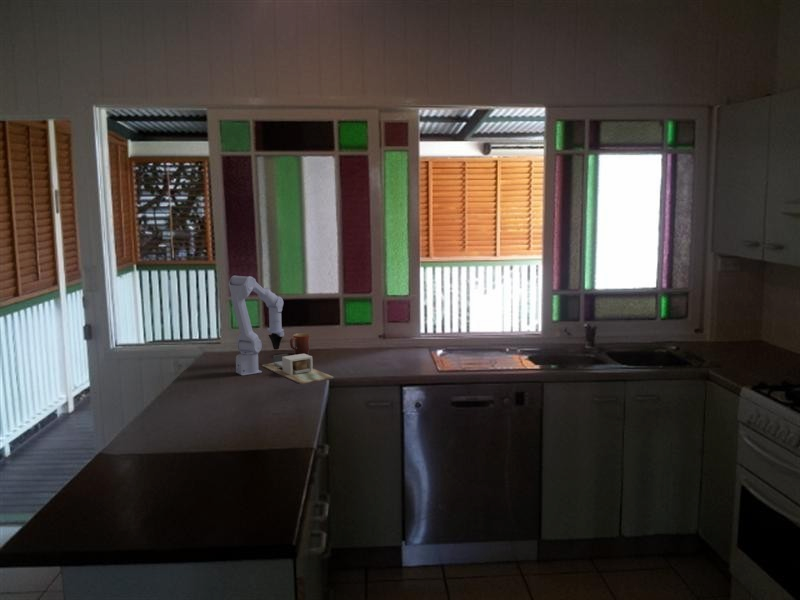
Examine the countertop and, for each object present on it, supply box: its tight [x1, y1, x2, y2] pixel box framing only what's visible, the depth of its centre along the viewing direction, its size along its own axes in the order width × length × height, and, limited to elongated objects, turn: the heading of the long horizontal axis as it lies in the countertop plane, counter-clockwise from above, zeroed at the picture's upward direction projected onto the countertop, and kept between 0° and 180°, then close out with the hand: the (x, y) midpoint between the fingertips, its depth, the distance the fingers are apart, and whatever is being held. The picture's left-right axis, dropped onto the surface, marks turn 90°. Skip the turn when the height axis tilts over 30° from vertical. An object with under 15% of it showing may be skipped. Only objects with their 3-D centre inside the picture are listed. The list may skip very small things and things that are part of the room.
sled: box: [272, 353, 310, 374], centre depth 287 cm, size 7×23×4 cm, turn 36°
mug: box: [289, 332, 311, 355], centre depth 316 cm, size 12×9×10 cm
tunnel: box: [282, 354, 314, 375], centre depth 282 cm, size 11×8×7 cm
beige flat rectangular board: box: [261, 362, 334, 385], centre depth 284 cm, size 16×39×1 cm, turn 36°
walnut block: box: [292, 360, 307, 371], centre depth 281 cm, size 5×5×4 cm
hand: (276, 349), depth 299 cm, fingers closed
